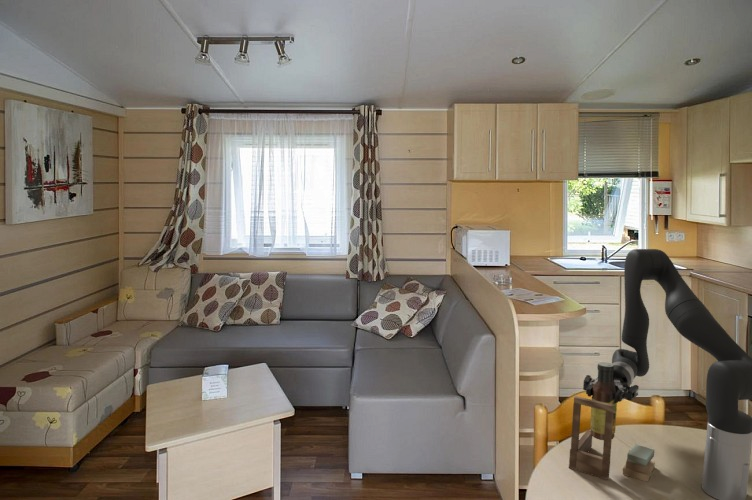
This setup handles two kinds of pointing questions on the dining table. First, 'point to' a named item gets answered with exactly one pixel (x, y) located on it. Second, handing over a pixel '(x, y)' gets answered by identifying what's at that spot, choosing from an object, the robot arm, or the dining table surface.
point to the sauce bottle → (603, 400)
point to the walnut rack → (590, 441)
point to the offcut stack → (639, 463)
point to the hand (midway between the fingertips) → (602, 396)
